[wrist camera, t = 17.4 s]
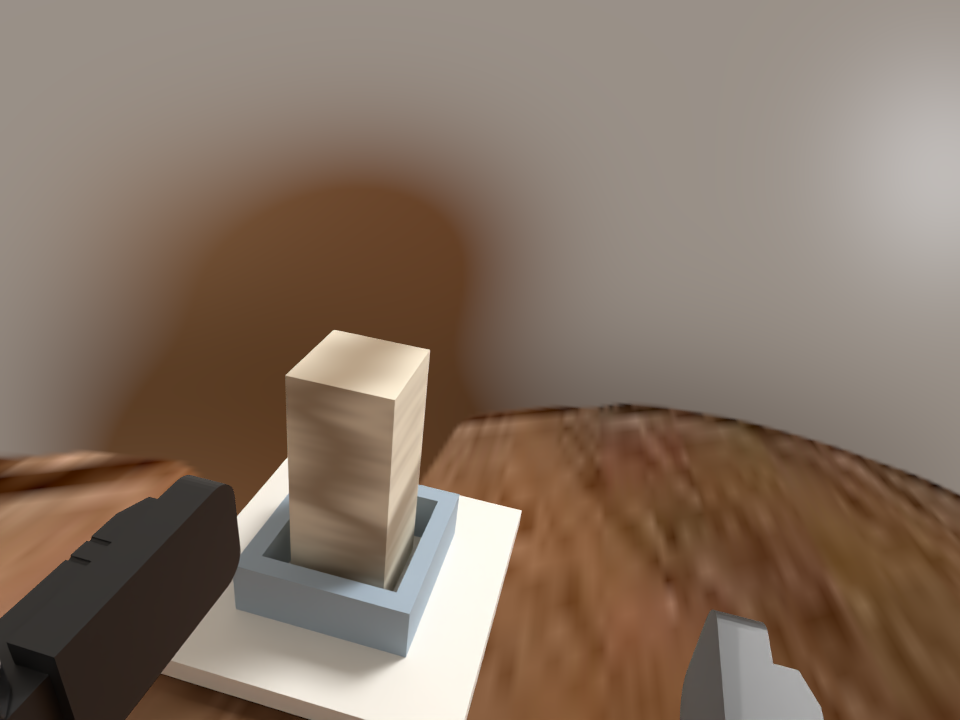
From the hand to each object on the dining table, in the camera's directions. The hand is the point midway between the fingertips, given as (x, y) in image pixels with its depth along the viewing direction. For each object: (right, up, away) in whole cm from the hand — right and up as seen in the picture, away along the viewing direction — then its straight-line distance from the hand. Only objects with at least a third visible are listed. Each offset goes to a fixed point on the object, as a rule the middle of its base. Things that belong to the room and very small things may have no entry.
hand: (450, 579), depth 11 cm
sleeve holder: (-7, -9, +26) cm, 28 cm away
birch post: (-6, -8, +26) cm, 27 cm away
